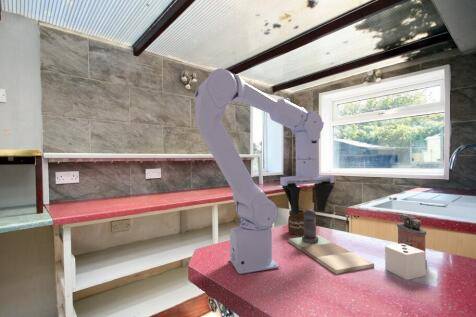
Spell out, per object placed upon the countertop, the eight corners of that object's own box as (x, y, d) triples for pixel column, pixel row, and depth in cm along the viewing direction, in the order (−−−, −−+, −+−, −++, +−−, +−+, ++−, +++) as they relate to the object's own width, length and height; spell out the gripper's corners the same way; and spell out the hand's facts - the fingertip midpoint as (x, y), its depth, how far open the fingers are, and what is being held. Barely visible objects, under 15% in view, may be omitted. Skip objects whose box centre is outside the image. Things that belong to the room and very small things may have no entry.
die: (406, 279, 49) (406, 254, 49) (385, 269, 54) (385, 245, 54) (425, 275, 51) (425, 251, 51) (403, 265, 55) (402, 243, 55)
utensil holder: (288, 229, 84) (287, 194, 84) (307, 230, 83) (306, 194, 83) (288, 235, 78) (287, 197, 78) (308, 236, 77) (308, 197, 77)
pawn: (299, 239, 72) (298, 208, 72) (312, 237, 73) (312, 207, 73) (307, 244, 68) (306, 211, 68) (321, 242, 69) (321, 210, 69)
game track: (335, 273, 52) (335, 270, 52) (288, 241, 72) (288, 238, 72) (374, 267, 55) (374, 263, 55) (318, 237, 75) (317, 235, 75)
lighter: (431, 265, 55) (430, 220, 55) (415, 265, 55) (415, 220, 55) (407, 251, 63) (406, 212, 63) (393, 251, 63) (393, 212, 63)
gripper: (289, 160, 58) (290, 218, 58) (341, 158, 62) (342, 212, 62) (276, 159, 65) (277, 211, 65) (324, 158, 69) (325, 207, 69)
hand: (308, 212), depth 64 cm, fingers open, 7 cm apart
